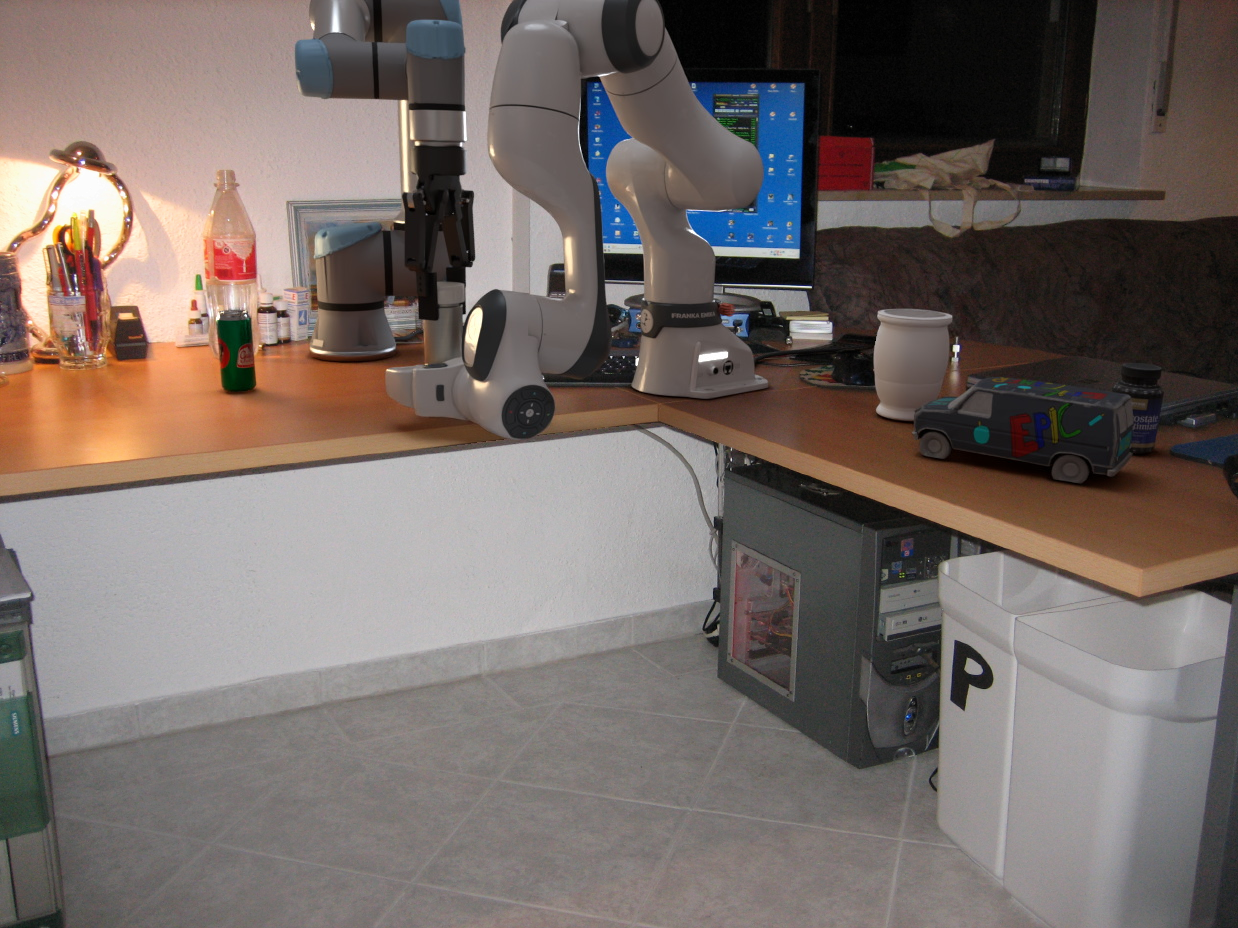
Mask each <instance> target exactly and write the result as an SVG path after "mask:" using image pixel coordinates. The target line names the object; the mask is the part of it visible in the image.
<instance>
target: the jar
mask: <svg viewBox="0 0 1238 928" xmlns="http://www.w3.org/2000/svg"><path fill="white" fill-rule="evenodd" d="M877 319H878V321H880V325H879V327H878V329H877V332H876V333H877V336H876V341H875V345H874V346H873V372H874V384H875V385H874V386H875V391H876V395H877V398H878V399H879V401H880V402H879V404H877V405H878V406H877V407H876V409H875V412H876V413H877V415H879V416H881V417H884V418H887V419H889V420H890V419H891V420H896V421H903V422H914V414H915V410H916V409H918V408H919V407H921V406H923V405H924V404H926V403H929V402H931V401H934V400H936V399H939V396H940V393H941V391H942V388H943V384H944V378H945V377H946V376H945V375H946V373H947V369H948V364H949V360H950V359H949V357H950V334H949V327H948V326H949V325H951V324H952V323H953V315H952V314H950V313H947V312H943V311H936V310H929V309H918V308H888V309H880V310H878V311H877Z"/></svg>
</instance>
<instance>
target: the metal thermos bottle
mask: <svg viewBox="0 0 1238 928" xmlns="http://www.w3.org/2000/svg"><path fill="white" fill-rule="evenodd" d="M463 318H464V315H463V310H462V305H461V304H459V303H455V304H438V320H437V321H431V320H422V322H423V323H422V324H423V325H422V326H423V328H422V329H424V333H423V353H424V354H423V355H424V357H423V358H424V365H430V364H436V363H441V362H446V361H449V360H451V359H454V358H460V357H461V356H462V349H461V348H462V333H463V326H464V319H463Z"/></svg>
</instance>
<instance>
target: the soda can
mask: <svg viewBox="0 0 1238 928" xmlns="http://www.w3.org/2000/svg"><path fill="white" fill-rule="evenodd" d="M252 323H253V322H252V317H251V316H250V315H249V311H248V310H247V309H224V310H219V311H217V316H216V318H215V325H216V337H217V349H218V362H219V371H220V373H219V374H220V382H221V383H220V384H221V388H222V389H223V390H224V391H225V392H228V393H244V392H246V393H247V392H250V391H253V390H254V389H255V388H256V386H257V375H256V361H255V347H254V335H253V324H252Z"/></svg>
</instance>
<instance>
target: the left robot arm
mask: <svg viewBox="0 0 1238 928" xmlns="http://www.w3.org/2000/svg"><path fill="white" fill-rule="evenodd" d="M308 18H309V23H310V25H311V28H312V30H313V35H312V38H310V39H298V40H297V41H296V42H295V44H294V67H295V69H294V70H295V79H296V80H295V81H296V87H297V91H298V92H299V94H300V95H302V97H303V96H304V97H307V98H320V99H322V100H329V99H337V100H339V99H342V100H343V99H345V100H379V101H381V100H382V101H385V100H386V101H397V125H398V150H399V151H398V153H399V178H400V179H399V180H400V203H401V204H400V206H401V208H400V212H399V213H398V214H397V215H396V216H395V217H394V218H393V219H392V225H393V229H391V230H387V229H386V230H385V229H384V230H383V227H382V225H381V223H380V222H378V221H368V222H358V223H357V222H355V223H348V224H341V225H335V226H330V227H326V228H322V229H319V231H317V232H316V234H315V235H314V255H313V259H314V260H315V275H316V276H315V278H316V297H317V310H318V311H317V316H316V321H315V323H314V327H313V331H312V335H311V338H310V342H309V355H310V356H311V357H312V358H314V359H317V360H323V361H331V362H366V361H376V360H382V359H387V358H390V357H394V356H395V355H396V354H397V343H396V342H407V341H410V340H412V339H413V338H414V337H415V336H418V335H421V334H424V330H420V329H421V328H419V329H418V328H417V329H415V330H413V331H411V332H410V333H409V334H407V335H402V336H394V333H393V331H392V329H391V325H390V323H389V320H388V317H387V314H386V311H385V297H417V309H418V311H417V312H418V320H422V321H423V320H431V321H437V320H438V299H437V282H458V283H463V284H464V288H465V301H464V302H462V303H459V304H461V305H462V310H463V316H464V315H467V303H466V302H467V297H466V294H467V293H466V292H467V291H466V287H467V268H472V267H473V265H474V262H476V261H475V260H476V242H475V241H476V240H475V229H474V228H475V226H474V225H475V224H474V200H475V192H474V190H469V189H463V187H462V183H461V177H462V176H465V175H466V174H467V173H468V161H467V156H468V155H467V154H468V153H467V149H466V147H463V143H466V142H467V141H468V140H467V139H468V138H467V111H466V69H465V68H466V67H465V66H466V64H465V61H466V60H465V59H466V58H465V57H466V56H465V54H466V47H465V38H464V37H465V36H464V26H463V17H462V8H461V3H460V0H310V1H309V7H308ZM463 328H464V325H463ZM415 331H416V332H415ZM413 332H414V333H413Z"/></svg>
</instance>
